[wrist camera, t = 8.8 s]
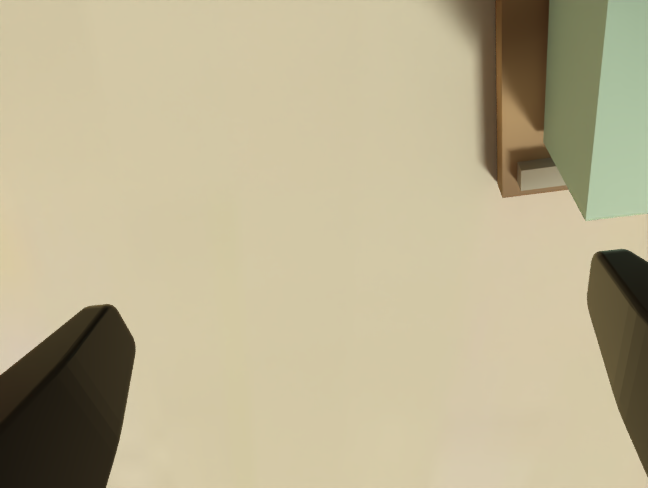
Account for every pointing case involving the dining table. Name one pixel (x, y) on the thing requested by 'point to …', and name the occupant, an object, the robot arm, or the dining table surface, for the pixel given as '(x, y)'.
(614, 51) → the sliding jaw
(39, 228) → the dining table surface
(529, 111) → the vise base
